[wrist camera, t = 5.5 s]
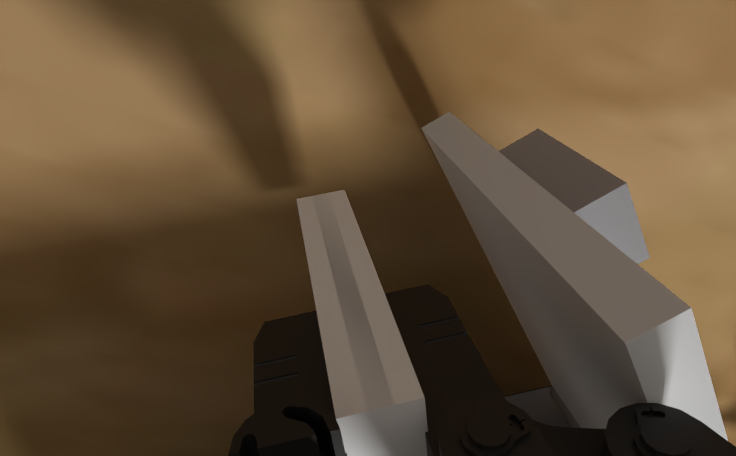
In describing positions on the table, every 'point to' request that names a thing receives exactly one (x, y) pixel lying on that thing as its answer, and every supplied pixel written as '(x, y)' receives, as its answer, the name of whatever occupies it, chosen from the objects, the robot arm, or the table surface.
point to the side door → (577, 276)
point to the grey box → (539, 407)
